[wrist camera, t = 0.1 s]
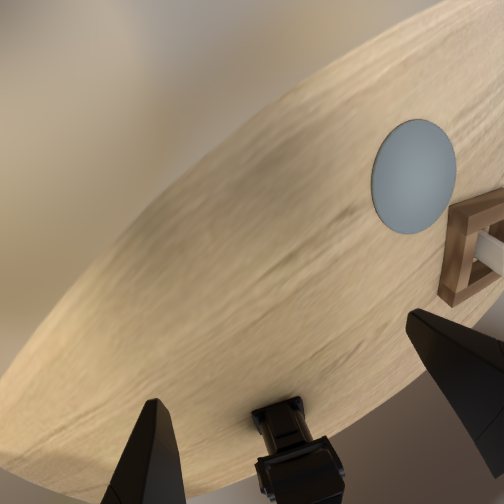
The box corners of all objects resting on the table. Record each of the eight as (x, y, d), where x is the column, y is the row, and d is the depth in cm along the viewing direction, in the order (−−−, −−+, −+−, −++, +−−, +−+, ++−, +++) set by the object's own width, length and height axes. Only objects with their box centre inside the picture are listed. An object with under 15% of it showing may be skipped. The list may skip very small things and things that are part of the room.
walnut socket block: (489, 265, 34) (503, 275, 32) (437, 294, 33) (451, 308, 30) (502, 187, 28) (519, 195, 26) (449, 206, 27) (468, 216, 24)
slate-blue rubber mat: (451, 217, 28) (453, 219, 27) (373, 246, 27) (375, 248, 26) (452, 117, 22) (455, 117, 22) (365, 125, 21) (368, 126, 21)
